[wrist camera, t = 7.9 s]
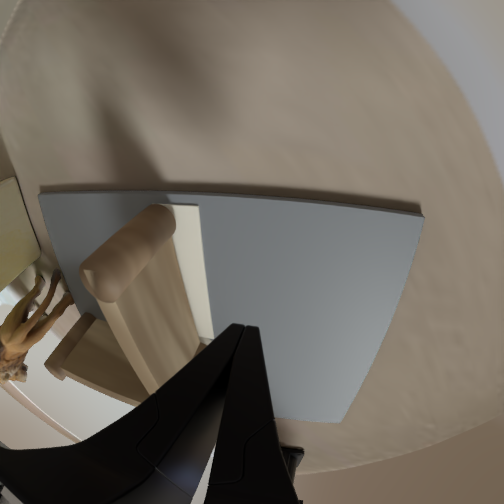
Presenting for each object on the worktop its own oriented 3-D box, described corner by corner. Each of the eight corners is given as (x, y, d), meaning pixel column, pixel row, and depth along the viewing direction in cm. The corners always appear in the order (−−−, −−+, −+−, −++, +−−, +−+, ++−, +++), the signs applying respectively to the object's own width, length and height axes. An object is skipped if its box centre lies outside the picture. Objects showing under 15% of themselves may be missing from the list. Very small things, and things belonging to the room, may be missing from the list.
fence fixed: (215, 361, 18) (187, 432, 14) (88, 327, 20) (52, 375, 16) (212, 342, 17) (180, 418, 13) (79, 309, 19) (39, 358, 15)
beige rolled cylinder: (171, 203, 12) (107, 262, 8) (206, 343, 17) (178, 408, 13) (139, 204, 13) (72, 259, 9) (179, 339, 17) (148, 400, 13)
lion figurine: (55, 343, 26) (14, 399, 18) (24, 311, 24) (-20, 363, 17) (85, 287, 18) (11, 376, 11) (39, 238, 17) (-43, 312, 9)
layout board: (340, 419, 20) (339, 424, 20) (114, 372, 24) (112, 375, 24) (422, 213, 11) (425, 218, 10) (41, 192, 15) (36, 195, 14)
